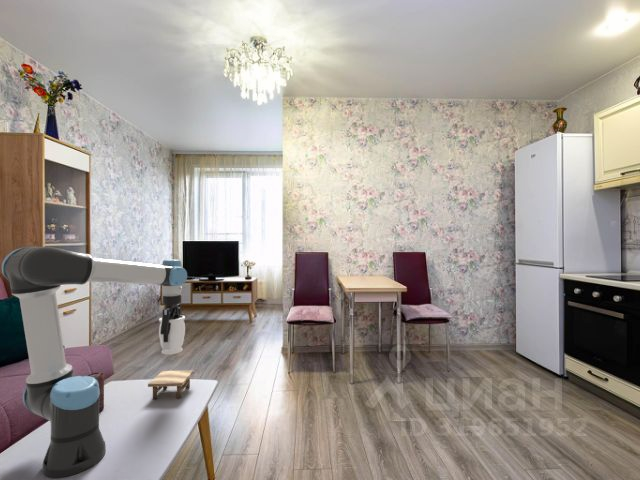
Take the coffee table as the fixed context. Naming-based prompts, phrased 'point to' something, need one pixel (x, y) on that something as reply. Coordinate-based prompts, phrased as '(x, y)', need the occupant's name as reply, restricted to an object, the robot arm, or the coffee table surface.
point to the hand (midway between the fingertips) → (172, 345)
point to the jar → (174, 335)
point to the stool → (171, 381)
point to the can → (100, 379)
